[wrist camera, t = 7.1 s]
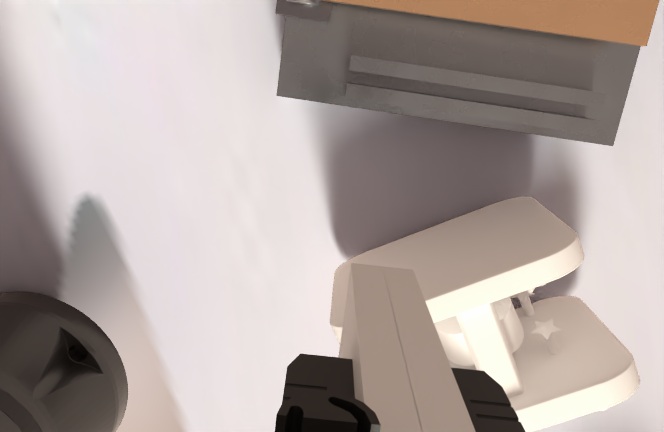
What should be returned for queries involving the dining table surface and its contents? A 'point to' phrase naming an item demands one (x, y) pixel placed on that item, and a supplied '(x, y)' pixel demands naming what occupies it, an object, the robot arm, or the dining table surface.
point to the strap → (537, 15)
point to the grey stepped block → (455, 70)
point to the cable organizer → (510, 309)
